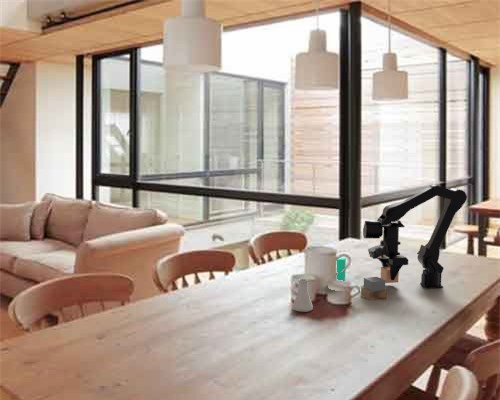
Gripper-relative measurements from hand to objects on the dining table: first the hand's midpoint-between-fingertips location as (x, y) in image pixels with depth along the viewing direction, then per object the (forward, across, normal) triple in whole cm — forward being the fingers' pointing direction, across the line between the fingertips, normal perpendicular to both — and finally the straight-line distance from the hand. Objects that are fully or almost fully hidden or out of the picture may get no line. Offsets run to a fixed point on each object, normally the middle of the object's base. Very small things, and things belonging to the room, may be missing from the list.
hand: (389, 278), depth 210 cm
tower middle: (0, +13, -12) cm, 18 cm away
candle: (+3, -6, -19) cm, 20 cm away
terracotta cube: (+1, 0, 0) cm, 1 cm away
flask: (+3, +22, -41) cm, 47 cm away
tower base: (+3, +13, -12) cm, 18 cm away
